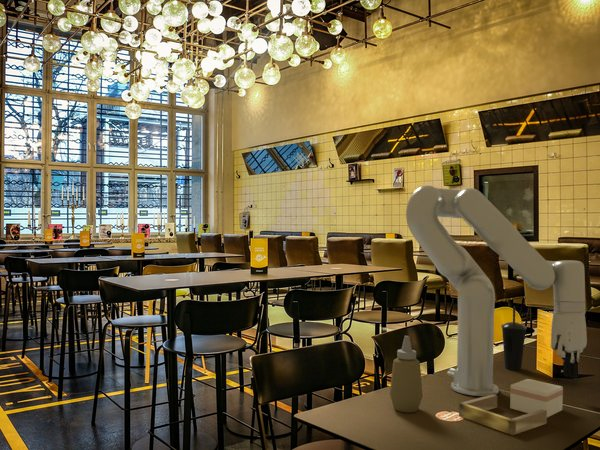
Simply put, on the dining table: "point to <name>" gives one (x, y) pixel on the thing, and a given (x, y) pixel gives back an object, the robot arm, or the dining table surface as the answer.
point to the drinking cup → (513, 343)
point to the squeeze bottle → (406, 379)
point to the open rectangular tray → (479, 414)
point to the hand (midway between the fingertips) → (570, 376)
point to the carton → (536, 396)
